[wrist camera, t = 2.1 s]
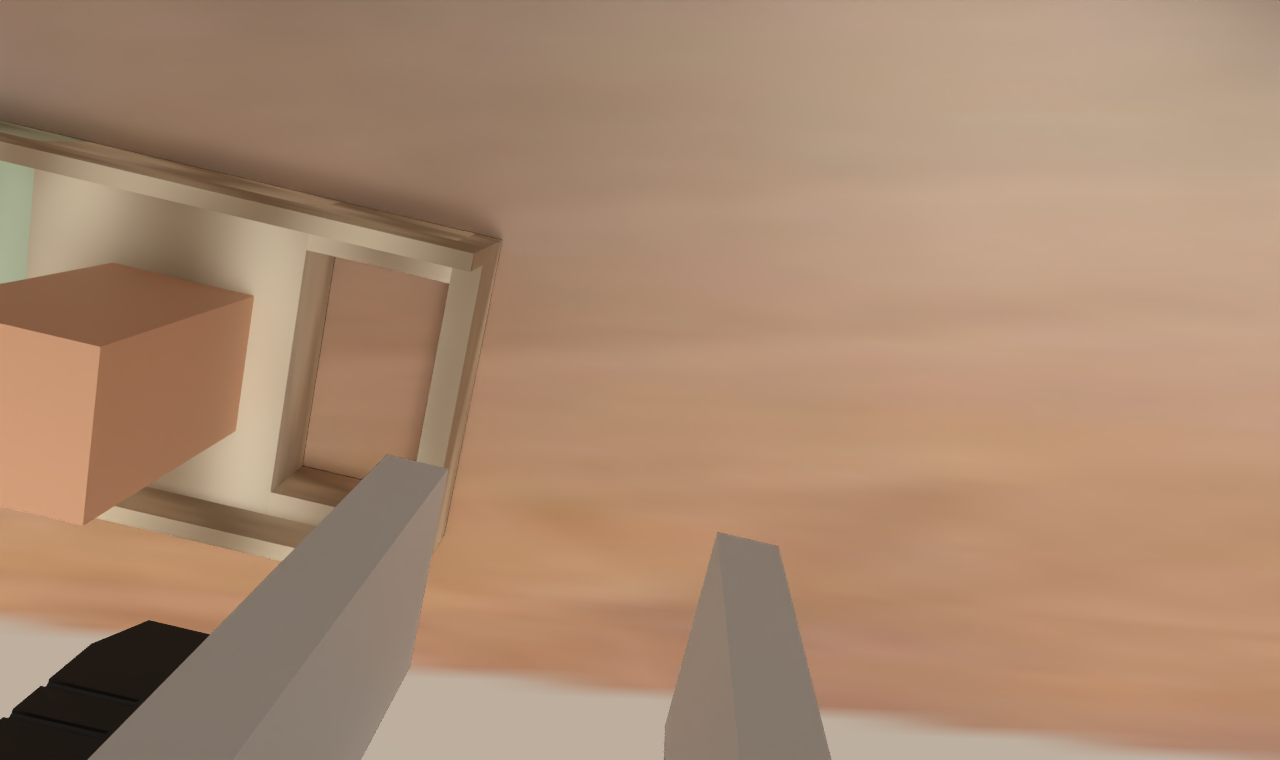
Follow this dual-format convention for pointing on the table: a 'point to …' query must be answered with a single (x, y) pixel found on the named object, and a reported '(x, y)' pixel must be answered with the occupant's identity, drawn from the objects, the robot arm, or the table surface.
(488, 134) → the table surface
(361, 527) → the robot arm
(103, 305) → the block
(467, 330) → the beige open frame
